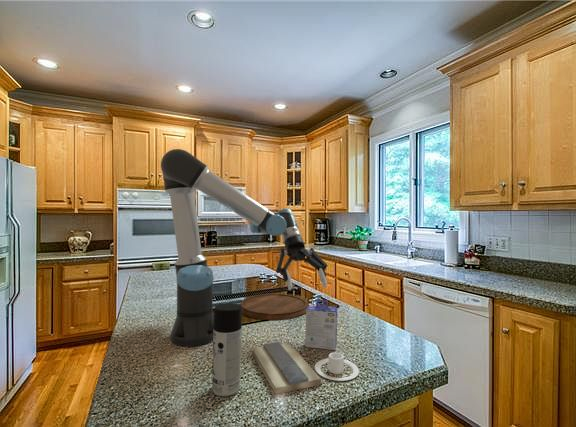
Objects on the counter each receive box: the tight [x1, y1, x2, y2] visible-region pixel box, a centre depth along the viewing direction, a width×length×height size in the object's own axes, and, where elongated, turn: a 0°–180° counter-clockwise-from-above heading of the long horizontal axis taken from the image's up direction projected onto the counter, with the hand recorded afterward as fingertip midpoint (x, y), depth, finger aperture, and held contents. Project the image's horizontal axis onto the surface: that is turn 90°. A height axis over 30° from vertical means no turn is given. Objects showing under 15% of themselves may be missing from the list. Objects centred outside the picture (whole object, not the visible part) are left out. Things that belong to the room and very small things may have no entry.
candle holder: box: [314, 352, 360, 382], centre depth 83 cm, size 12×12×4 cm
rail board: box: [251, 341, 322, 395], centre depth 84 cm, size 12×22×2 cm, turn 21°
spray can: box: [211, 303, 243, 398], centre depth 73 cm, size 7×7×20 cm
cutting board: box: [239, 293, 310, 321], centre depth 137 cm, size 32×32×3 cm
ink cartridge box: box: [304, 298, 338, 351], centre depth 98 cm, size 10×6×14 cm, turn 78°
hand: (308, 286), depth 108 cm, fingers open, 13 cm apart
